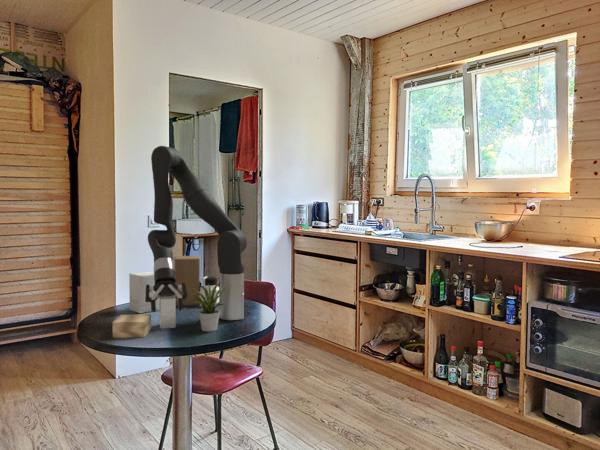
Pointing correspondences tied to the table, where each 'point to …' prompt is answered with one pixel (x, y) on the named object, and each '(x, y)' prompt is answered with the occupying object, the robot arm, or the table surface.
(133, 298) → the supplement box
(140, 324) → the oak stand
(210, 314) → the house plant
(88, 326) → the table surface
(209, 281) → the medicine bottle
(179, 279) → the wooden block
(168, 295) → the tea tin
